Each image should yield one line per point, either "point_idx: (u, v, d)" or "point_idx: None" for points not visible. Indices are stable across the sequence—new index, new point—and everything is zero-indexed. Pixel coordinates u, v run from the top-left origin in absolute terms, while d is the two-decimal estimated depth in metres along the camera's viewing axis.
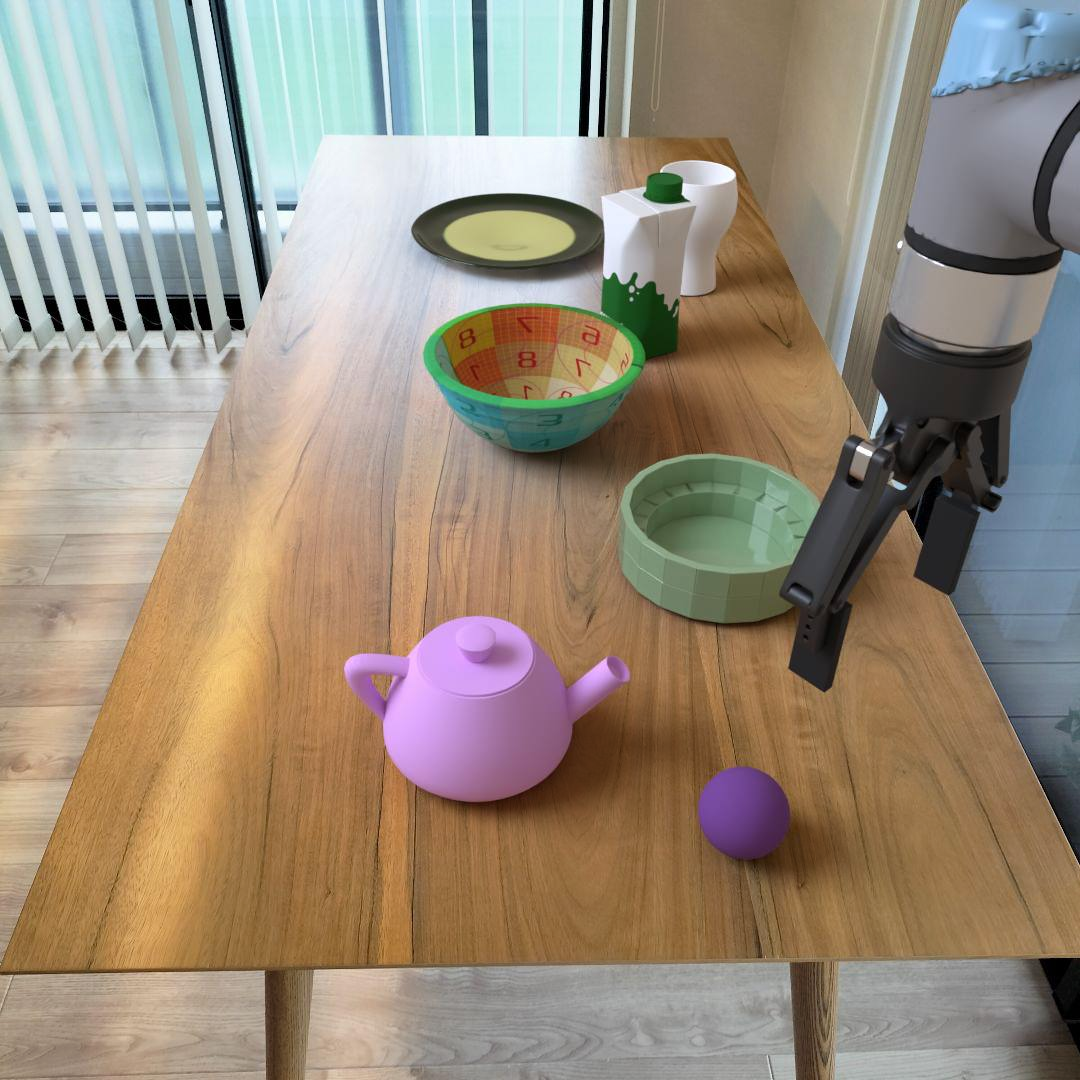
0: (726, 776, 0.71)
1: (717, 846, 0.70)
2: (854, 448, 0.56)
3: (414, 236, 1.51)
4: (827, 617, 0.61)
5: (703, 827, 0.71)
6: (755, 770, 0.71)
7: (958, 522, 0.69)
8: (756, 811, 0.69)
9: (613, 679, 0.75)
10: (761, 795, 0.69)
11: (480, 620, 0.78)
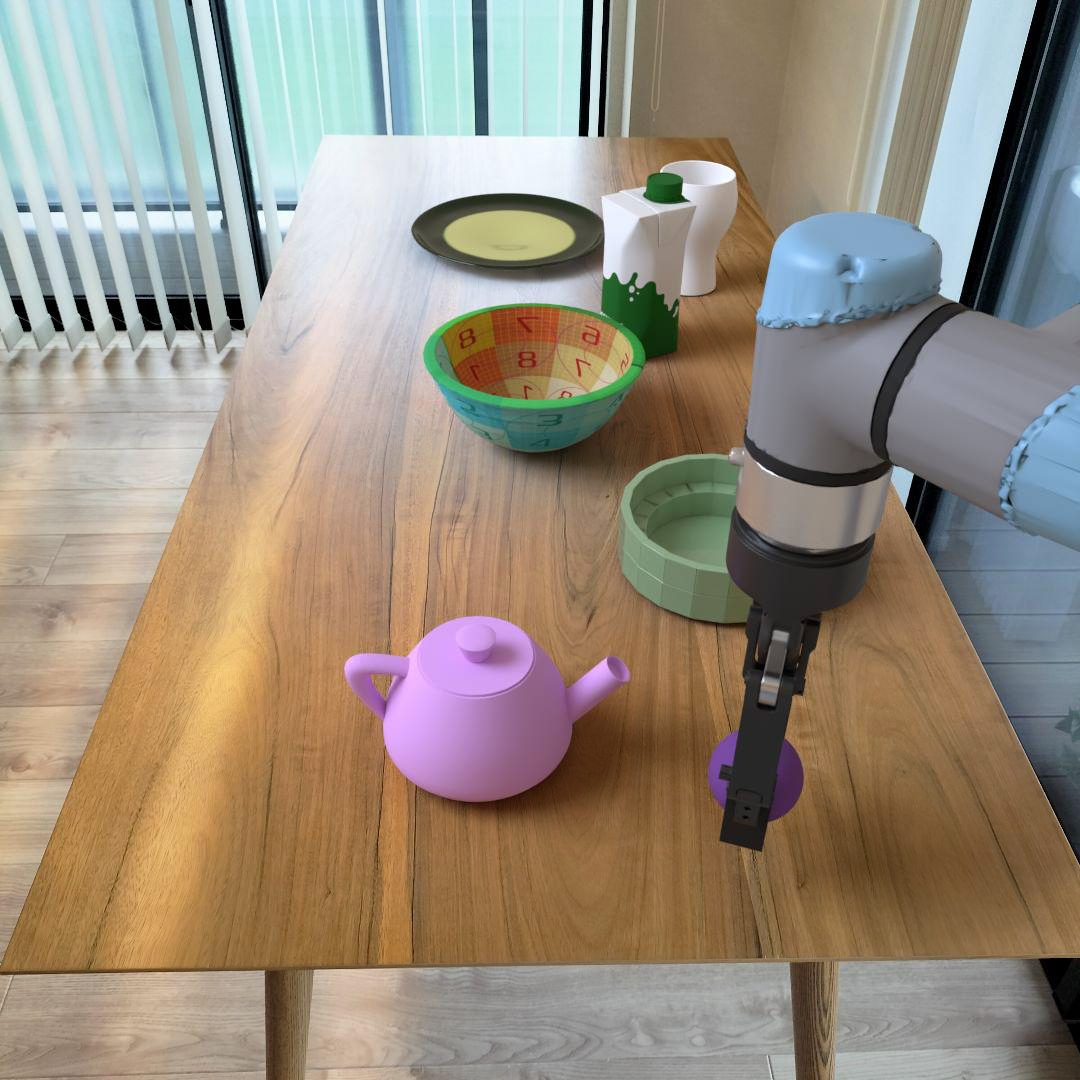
0: (737, 736, 0.68)
1: None
2: (758, 688, 0.56)
3: (414, 236, 1.51)
4: None
5: (714, 790, 0.68)
6: None
7: None
8: None
9: (613, 679, 0.75)
10: None
11: (480, 620, 0.78)
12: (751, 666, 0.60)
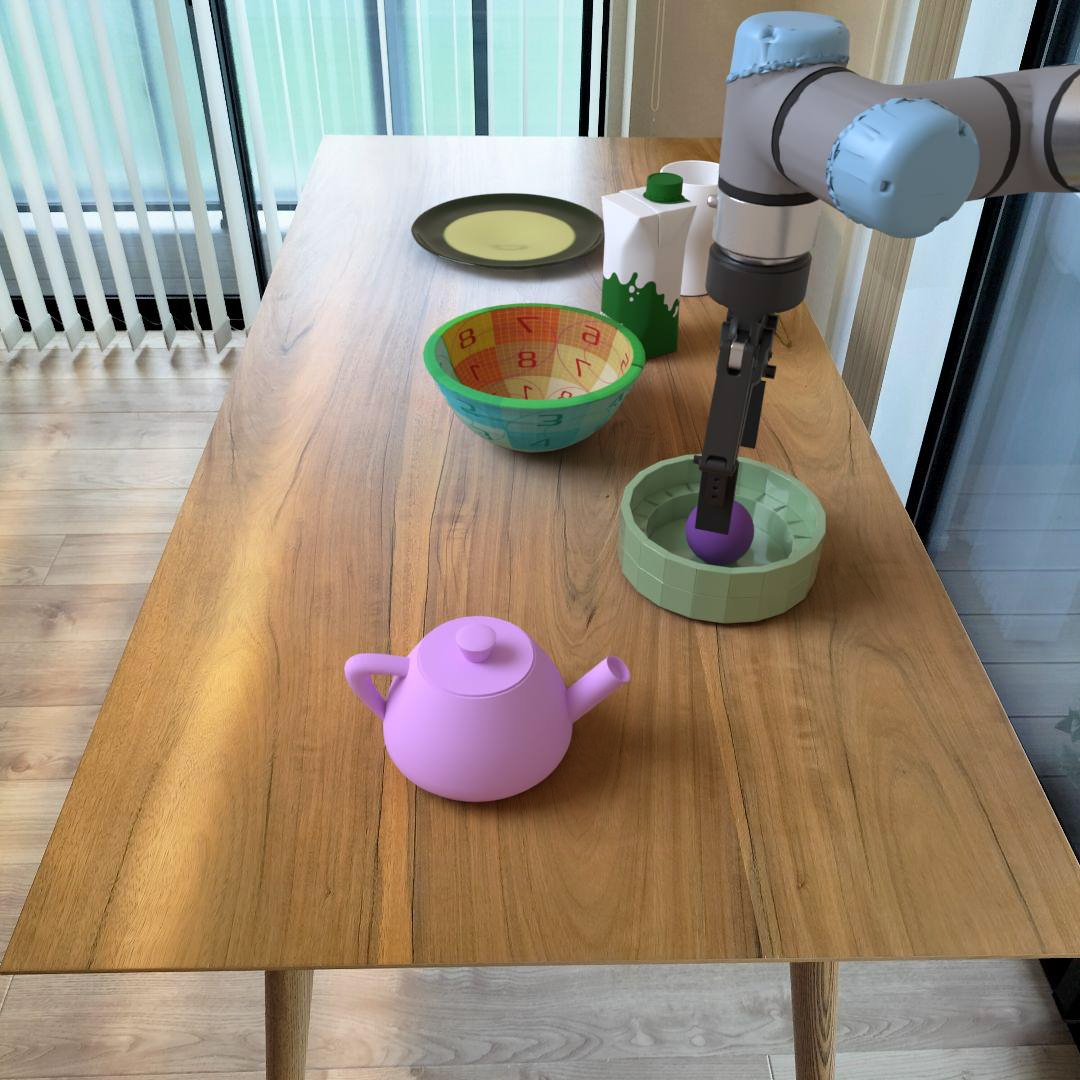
0: None
1: (699, 552, 0.94)
2: (729, 347, 0.78)
3: (414, 236, 1.51)
4: (727, 476, 0.83)
5: (689, 539, 0.95)
6: None
7: (753, 392, 0.94)
8: None
9: (613, 679, 0.75)
10: (732, 510, 0.93)
11: (480, 620, 0.78)
12: None
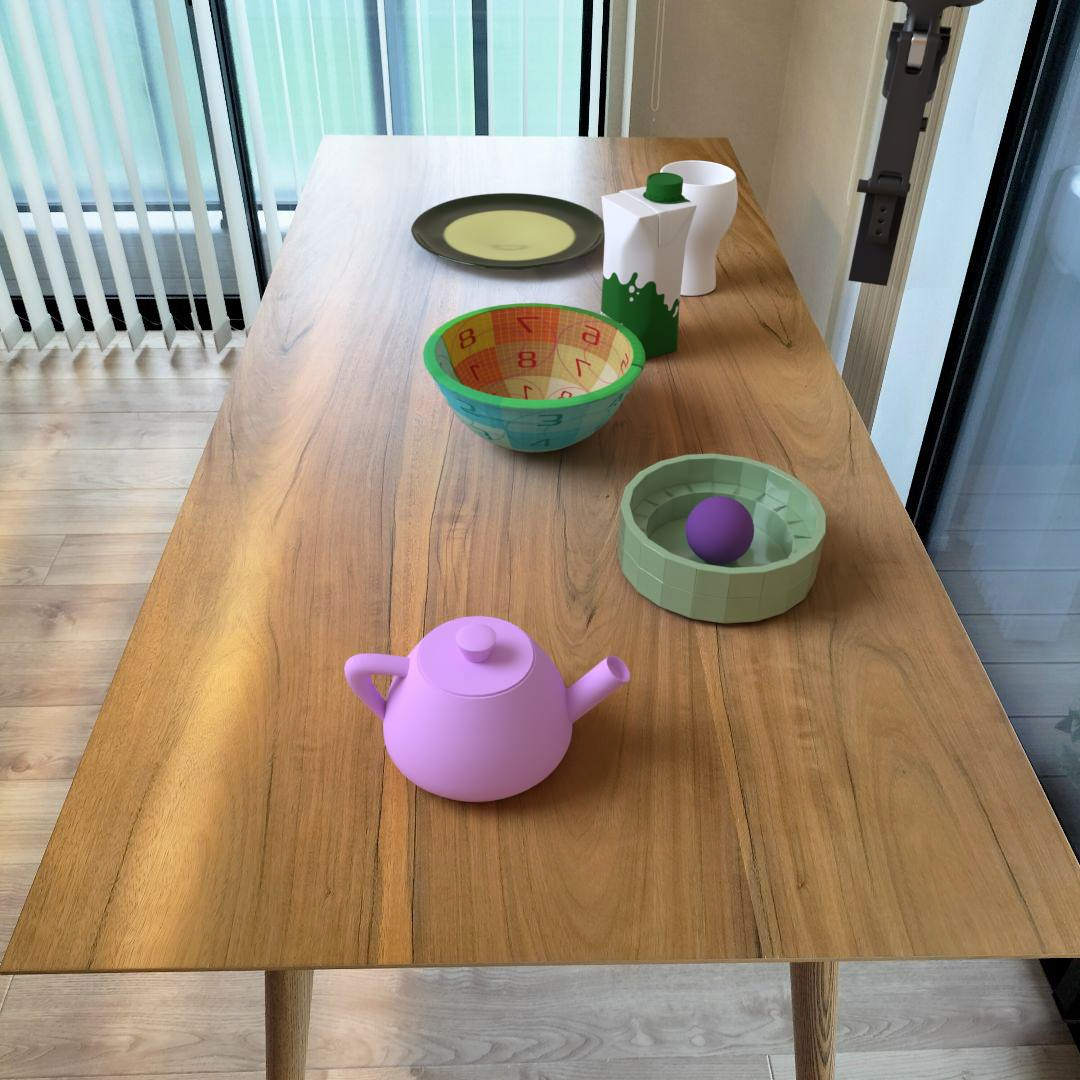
0: (706, 500, 0.95)
1: (699, 551, 0.94)
2: (910, 38, 0.68)
3: (414, 236, 1.51)
4: None
5: (689, 538, 0.95)
6: None
7: None
8: (728, 519, 0.93)
9: (613, 679, 0.75)
10: (731, 509, 0.93)
11: (480, 620, 0.78)
12: (891, 75, 0.72)
